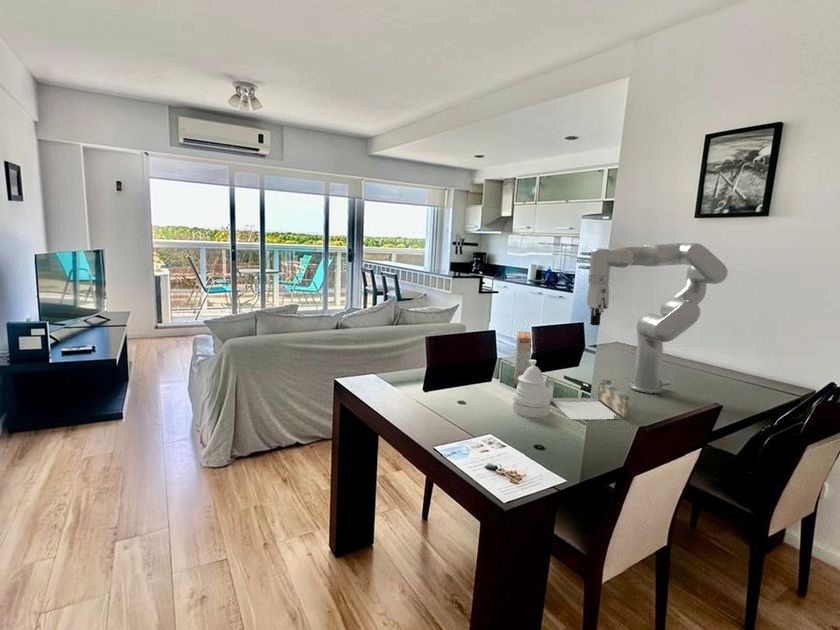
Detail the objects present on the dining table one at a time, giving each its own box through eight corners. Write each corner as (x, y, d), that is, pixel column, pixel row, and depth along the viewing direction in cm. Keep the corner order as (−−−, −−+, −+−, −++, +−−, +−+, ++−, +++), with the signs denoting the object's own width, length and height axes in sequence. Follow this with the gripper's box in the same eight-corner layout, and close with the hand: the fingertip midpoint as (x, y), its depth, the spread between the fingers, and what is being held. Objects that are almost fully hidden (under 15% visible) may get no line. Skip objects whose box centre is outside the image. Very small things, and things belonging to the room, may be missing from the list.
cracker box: (528, 387, 190) (531, 338, 187) (514, 385, 191) (516, 337, 188) (527, 377, 203) (530, 331, 200) (514, 376, 205) (516, 330, 201)
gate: (597, 398, 176) (598, 379, 174) (601, 398, 176) (602, 379, 175) (622, 417, 157) (624, 396, 155) (627, 417, 157) (629, 396, 155)
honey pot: (510, 403, 170) (512, 356, 167) (544, 404, 170) (547, 357, 167) (516, 416, 157) (518, 366, 154) (553, 417, 157) (557, 367, 154)
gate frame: (607, 399, 177) (609, 378, 175) (610, 402, 174) (612, 380, 172) (543, 399, 175) (544, 377, 174) (546, 402, 172) (547, 380, 171)
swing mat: (599, 402, 173) (599, 401, 173) (621, 419, 156) (621, 419, 156) (553, 402, 172) (553, 401, 172) (570, 420, 155) (570, 419, 155)
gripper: (616, 281, 174) (612, 328, 177) (599, 278, 189) (595, 321, 192) (597, 281, 174) (593, 328, 177) (581, 278, 189) (578, 321, 192)
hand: (594, 324), depth 185 cm, fingers closed
